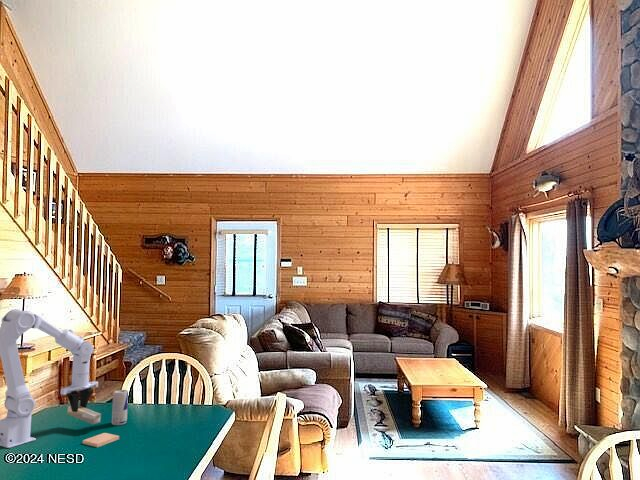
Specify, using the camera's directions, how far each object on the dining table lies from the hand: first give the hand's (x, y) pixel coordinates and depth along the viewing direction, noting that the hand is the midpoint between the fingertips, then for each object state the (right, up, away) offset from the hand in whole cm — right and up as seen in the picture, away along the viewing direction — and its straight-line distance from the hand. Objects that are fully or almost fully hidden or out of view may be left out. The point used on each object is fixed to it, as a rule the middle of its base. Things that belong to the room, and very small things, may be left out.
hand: (78, 410), depth 183 cm
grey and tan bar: (+2, -2, -1) cm, 4 cm away
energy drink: (+13, -7, +6) cm, 16 cm away
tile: (+11, -5, -13) cm, 18 cm away
